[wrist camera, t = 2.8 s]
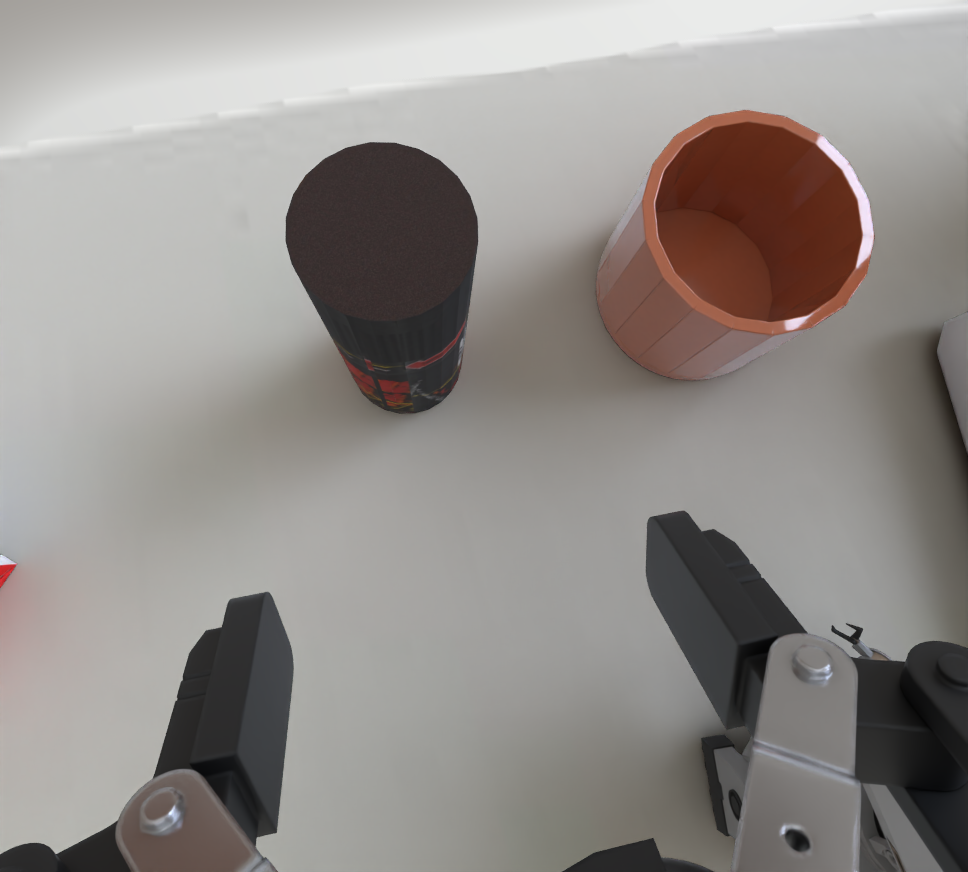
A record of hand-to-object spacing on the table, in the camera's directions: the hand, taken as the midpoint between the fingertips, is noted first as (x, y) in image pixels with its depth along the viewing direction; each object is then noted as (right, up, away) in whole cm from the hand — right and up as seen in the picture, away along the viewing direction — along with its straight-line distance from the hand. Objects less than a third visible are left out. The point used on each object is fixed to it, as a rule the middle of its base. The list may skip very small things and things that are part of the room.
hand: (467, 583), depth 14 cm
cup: (+12, +11, +23) cm, 28 cm away
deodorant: (-4, +7, +21) cm, 23 cm away
